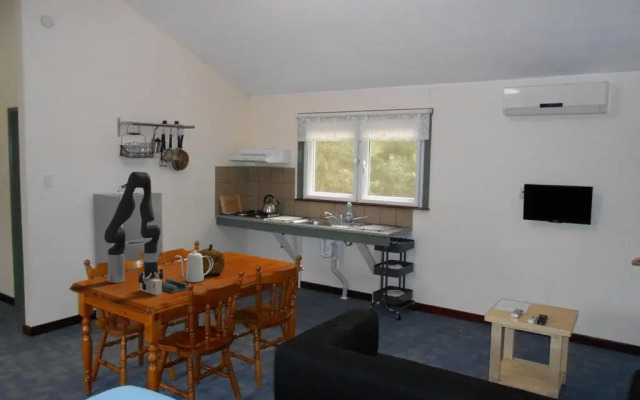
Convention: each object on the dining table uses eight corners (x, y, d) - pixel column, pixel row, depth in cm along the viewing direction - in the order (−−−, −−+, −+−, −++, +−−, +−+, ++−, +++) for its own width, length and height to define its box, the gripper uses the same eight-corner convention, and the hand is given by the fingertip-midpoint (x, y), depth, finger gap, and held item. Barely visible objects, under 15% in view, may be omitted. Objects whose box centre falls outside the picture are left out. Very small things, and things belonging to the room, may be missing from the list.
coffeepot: (171, 281, 321) (171, 251, 319) (209, 276, 336) (209, 247, 334) (177, 285, 312) (177, 254, 311) (216, 280, 327) (216, 250, 325)
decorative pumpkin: (186, 273, 339) (188, 243, 339) (207, 270, 358) (209, 241, 357) (210, 278, 330) (213, 247, 329) (230, 275, 348) (233, 245, 348)
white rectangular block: (140, 290, 300) (140, 276, 299) (146, 289, 302) (146, 275, 302) (156, 295, 289) (156, 281, 289) (161, 294, 292) (161, 280, 291)
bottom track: (152, 286, 308) (152, 281, 307) (170, 283, 317) (170, 277, 316) (171, 293, 295) (171, 287, 294) (189, 289, 304) (189, 283, 303)
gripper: (158, 257, 302) (158, 285, 303) (135, 261, 291) (136, 289, 293) (165, 259, 297) (165, 287, 299) (143, 263, 286) (143, 292, 288)
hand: (151, 288), depth 296 cm, fingers open, 8 cm apart
